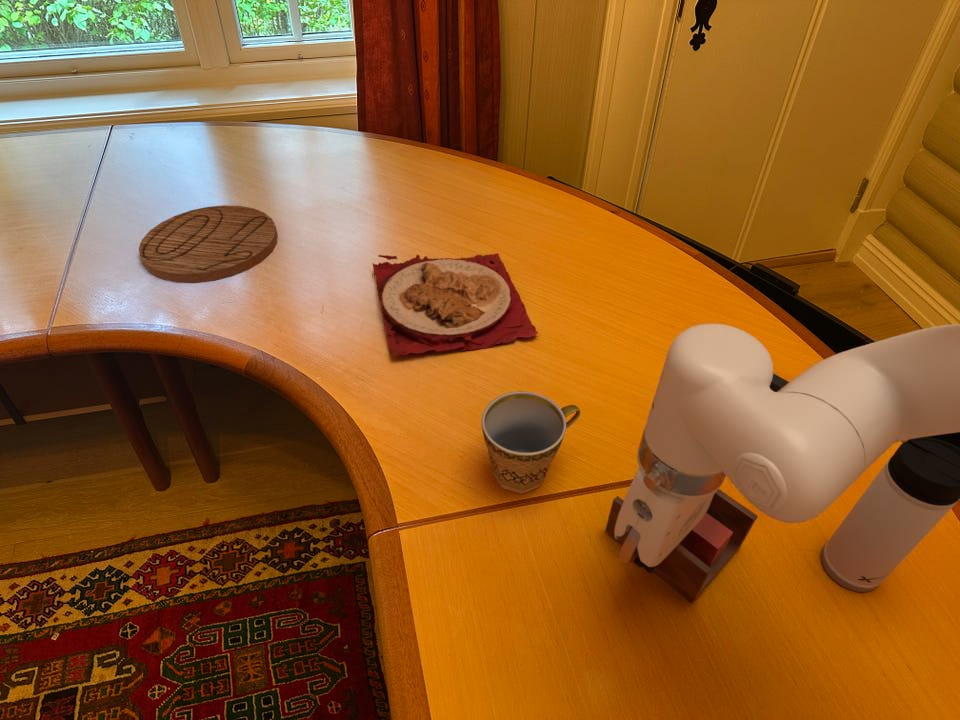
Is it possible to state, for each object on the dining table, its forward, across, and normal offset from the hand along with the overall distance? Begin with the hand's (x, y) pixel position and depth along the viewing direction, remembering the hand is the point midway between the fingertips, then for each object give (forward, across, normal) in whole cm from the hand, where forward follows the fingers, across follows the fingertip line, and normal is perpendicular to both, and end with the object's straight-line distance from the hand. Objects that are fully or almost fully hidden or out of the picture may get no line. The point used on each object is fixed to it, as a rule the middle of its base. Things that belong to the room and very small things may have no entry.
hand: (642, 559), depth 65 cm
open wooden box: (+4, +7, 0) cm, 8 cm away
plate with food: (+5, +18, +52) cm, 55 cm away
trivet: (+6, -5, +98) cm, 98 cm away
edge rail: (+4, +39, +1) cm, 39 cm away
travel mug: (+4, +19, -16) cm, 25 cm away
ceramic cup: (+4, +2, +18) cm, 19 cm away
